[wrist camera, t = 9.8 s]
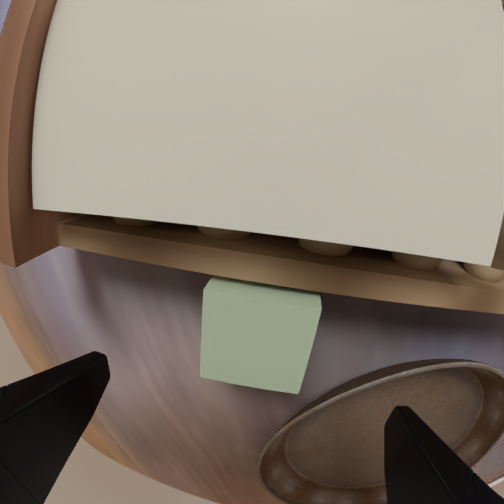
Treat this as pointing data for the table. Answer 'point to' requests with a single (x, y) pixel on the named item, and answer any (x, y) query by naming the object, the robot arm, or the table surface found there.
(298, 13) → the slab
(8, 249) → the roller track
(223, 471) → the table surface
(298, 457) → the plant saucer
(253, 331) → the block
